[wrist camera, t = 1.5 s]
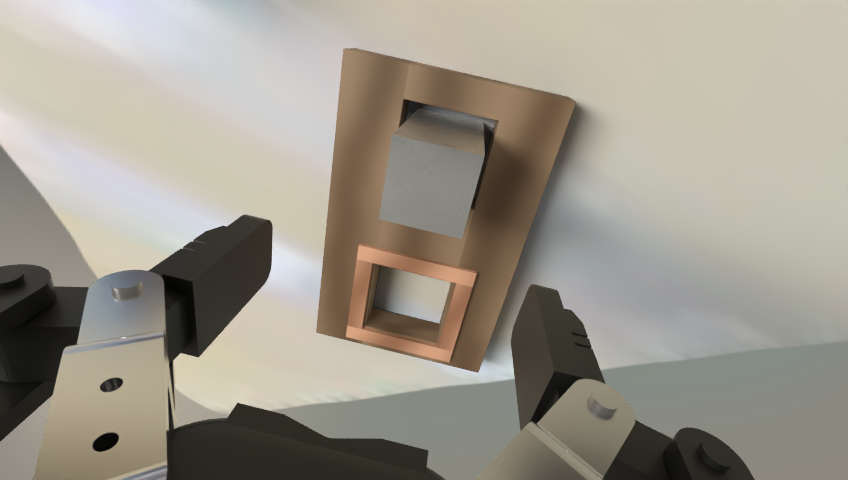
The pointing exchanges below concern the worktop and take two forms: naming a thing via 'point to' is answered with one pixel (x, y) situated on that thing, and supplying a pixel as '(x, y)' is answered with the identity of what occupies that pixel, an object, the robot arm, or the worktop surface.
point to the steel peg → (433, 172)
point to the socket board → (419, 249)
